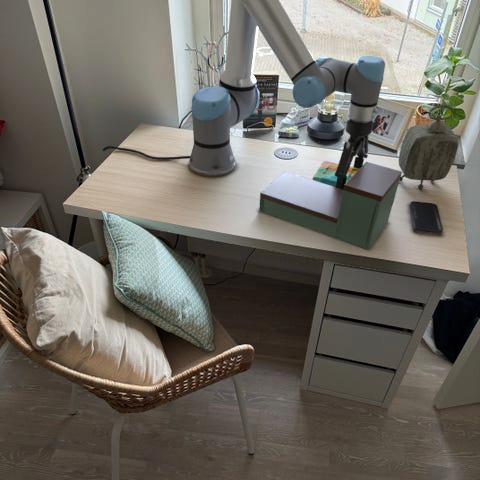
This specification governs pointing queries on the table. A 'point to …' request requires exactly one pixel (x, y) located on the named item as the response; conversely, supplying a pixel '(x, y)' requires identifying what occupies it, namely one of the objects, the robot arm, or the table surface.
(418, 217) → the phone
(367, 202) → the step shelf
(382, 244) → the table surface
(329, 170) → the puzzle game
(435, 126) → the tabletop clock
